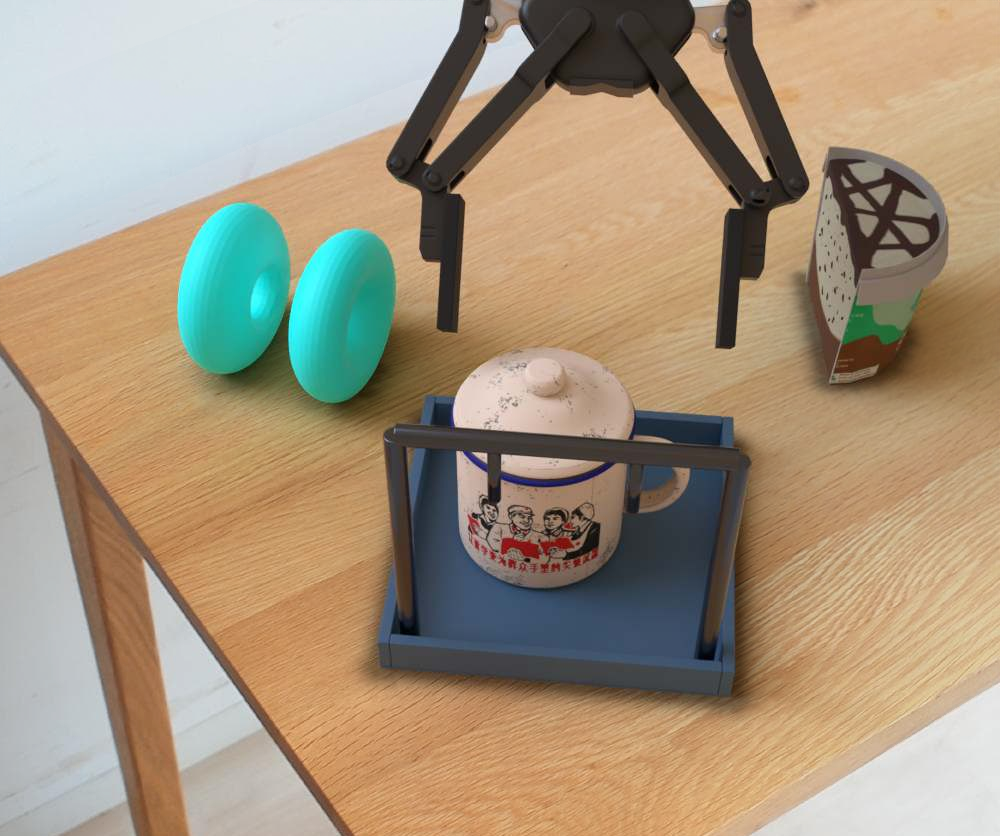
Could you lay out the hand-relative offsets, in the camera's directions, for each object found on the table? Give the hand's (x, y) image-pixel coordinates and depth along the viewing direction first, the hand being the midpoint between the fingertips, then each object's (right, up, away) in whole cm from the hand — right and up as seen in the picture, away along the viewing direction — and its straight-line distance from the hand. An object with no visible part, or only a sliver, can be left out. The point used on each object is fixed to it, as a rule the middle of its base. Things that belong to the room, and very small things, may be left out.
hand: (585, 340), depth 71 cm
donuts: (-16, 0, +16) cm, 23 cm away
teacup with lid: (-1, -10, +6) cm, 12 cm away
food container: (+18, +2, +18) cm, 26 cm away
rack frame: (-1, -16, +1) cm, 16 cm away
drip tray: (-1, -11, +6) cm, 12 cm away
